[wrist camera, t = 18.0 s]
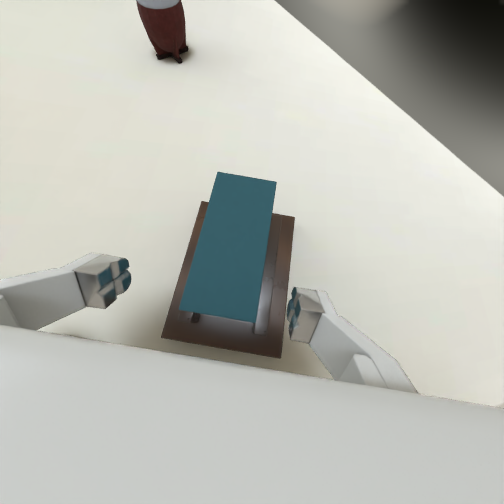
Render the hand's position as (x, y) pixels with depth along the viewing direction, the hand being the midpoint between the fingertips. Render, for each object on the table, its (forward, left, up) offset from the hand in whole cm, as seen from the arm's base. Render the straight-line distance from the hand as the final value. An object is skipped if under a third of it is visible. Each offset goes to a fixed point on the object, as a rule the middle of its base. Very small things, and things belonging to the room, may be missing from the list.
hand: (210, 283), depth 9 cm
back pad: (+3, 0, -11) cm, 12 cm away
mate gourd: (+43, +20, -13) cm, 49 cm away
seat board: (+3, 0, -12) cm, 13 cm away
